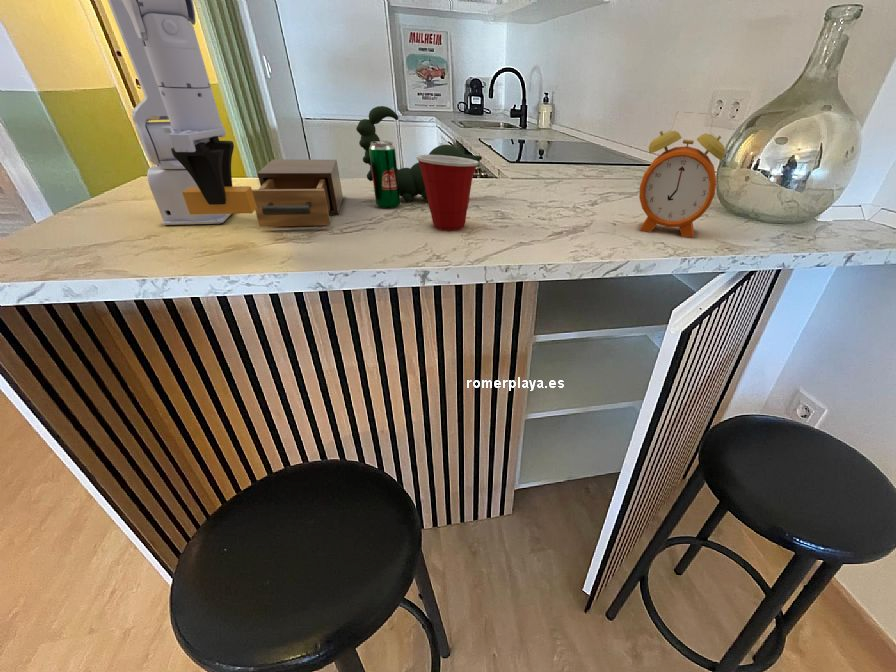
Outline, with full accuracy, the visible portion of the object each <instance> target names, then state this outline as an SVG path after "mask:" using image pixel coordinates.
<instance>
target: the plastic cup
mask: <svg viewBox="0 0 896 672" xmlns="http://www.w3.org/2000/svg"><path fill="white" fill-rule="evenodd" d="M415 157H416V161H418V162H419V164H420V169H421V172H422V176H423V180H424V185H425V189H426V194H427V199H428V200H427V203H428V208H429V211H430V215H431V221H432V224H433V227H434V228H435V229H436V230H438V231H439V230H440V231H446V232H455V231H461V230H463V229H464V228H465V224H466V220H467V213H468V209H469V203H470V196H471V189H472V183H473V178H474V174H475V171H476V169H477V166H478V165H479V162H480V161H479V162H478V161H476V160H472V159H468V158H462V157H454V156H444V155H429V154H417V155H415Z"/></svg>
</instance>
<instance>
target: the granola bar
mask: <svg viewBox="0 0 896 672" xmlns="http://www.w3.org/2000/svg"><path fill="white" fill-rule="evenodd" d="M224 188H225V194H226V204H218V205H209V204H208V202H207V201H206V199H205V198H204V196H203V194H202V193H201V191H200V189H199V188H198V187H189V188H187V189H186V190H184V191H183V192H182V194H183V196H184V199H185V202H186V205H187V207H188V210H189V213H190V214H231V215H232V214H239V215H240V214H253V213H254V212H255V209H256V208H257V206H256V203H255V199H254V196H253V192H252V189H253V188H252V186H250V185H248V186H243V185H242V186H238V185H237V186H232V187H224Z"/></svg>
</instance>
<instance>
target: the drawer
mask: <svg viewBox="0 0 896 672" xmlns="http://www.w3.org/2000/svg"><path fill="white" fill-rule="evenodd" d="M252 192H253V196H254V199H255V203H256V206H257V208H256V209H255V210H254V212H255V214H256V218H257V221H258V225H259V227H260V228H263V227H264V228H270V227H271V228H272V227H307V226H308V227H309V226H311V227H312V226H313V227H314V226H331V218H330V215H329V211H330V208H331V205H332V203H331V198H330V192H329V187H328V181H327V178H268V179H267V180H266V181H265V183H264V184H263V185H262V186H261V185H260V187H259V188H258V189H257V188H256V189H253V188H252Z"/></svg>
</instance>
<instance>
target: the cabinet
mask: <svg viewBox="0 0 896 672" xmlns="http://www.w3.org/2000/svg"><path fill="white" fill-rule="evenodd" d="M338 165H339V164H338V160H337V159H279V158H278V159H276V158H273V159H270V161H269V162H268V163H267V164H266V165H265V166H263V167H262V169H260V170H259V171H258V172H257V173H256V174H257V177H258V181H259V186H260V187H261V186H262V185H263V184H264V183H265V181H266V180H267V179H268V178H327V181H328V187H329V192H330V198H331V203H332V205H331V208H330V211H329V216H339V214H340V210H341V207H342V202H343V197H344V195H343V189H342V183H341V176H340V171H339V166H338Z"/></svg>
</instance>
